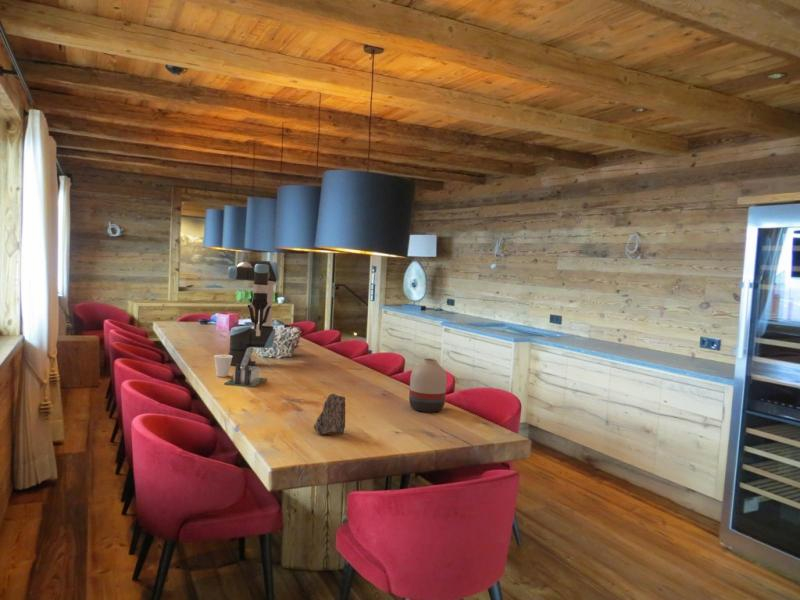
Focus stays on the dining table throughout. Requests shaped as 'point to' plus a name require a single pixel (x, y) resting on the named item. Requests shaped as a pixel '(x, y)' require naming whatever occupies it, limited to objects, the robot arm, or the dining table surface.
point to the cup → (222, 365)
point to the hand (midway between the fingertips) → (257, 335)
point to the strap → (246, 358)
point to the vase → (428, 386)
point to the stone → (331, 416)
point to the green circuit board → (246, 376)
